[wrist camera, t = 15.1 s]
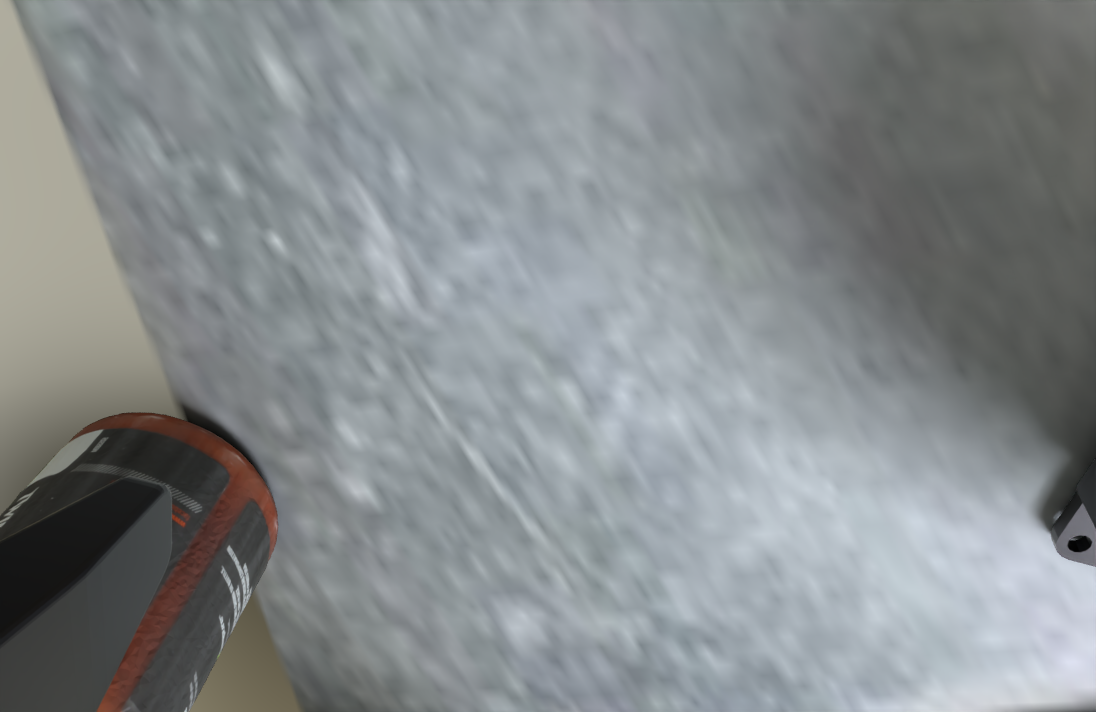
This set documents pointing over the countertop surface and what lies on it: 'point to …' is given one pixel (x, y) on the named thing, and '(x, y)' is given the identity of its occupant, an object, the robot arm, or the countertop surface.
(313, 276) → the countertop surface
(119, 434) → the supplement bottle
